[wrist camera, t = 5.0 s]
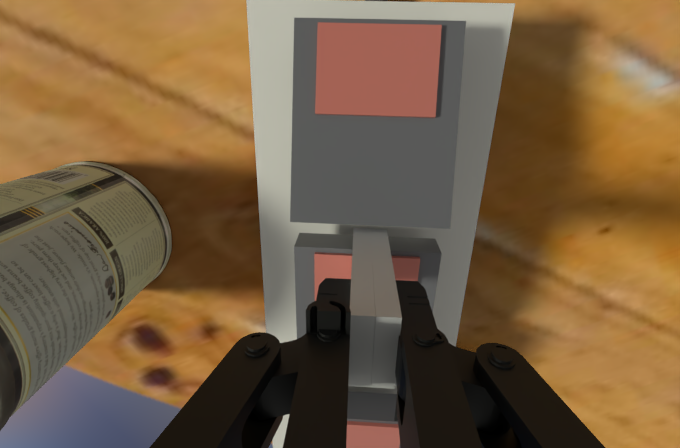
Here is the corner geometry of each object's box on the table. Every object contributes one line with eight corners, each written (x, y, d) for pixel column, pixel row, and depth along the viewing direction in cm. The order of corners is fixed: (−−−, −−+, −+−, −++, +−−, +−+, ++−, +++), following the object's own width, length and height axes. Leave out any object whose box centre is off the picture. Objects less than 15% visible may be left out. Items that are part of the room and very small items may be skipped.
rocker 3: (299, 388, 22) (294, 418, 20) (418, 395, 21) (422, 427, 20) (305, 452, 26) (302, 481, 25) (402, 459, 26) (404, 488, 25)
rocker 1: (300, 33, 17) (293, 15, 15) (455, 36, 16) (467, 18, 14) (296, 218, 18) (289, 222, 16) (441, 224, 17) (451, 229, 16)
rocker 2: (299, 232, 19) (293, 248, 17) (435, 238, 19) (442, 255, 17) (302, 358, 22) (297, 382, 21) (417, 365, 22) (421, 389, 20)
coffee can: (96, 307, 29) (-117, 488, 16) (6, 196, 26) (-349, 310, 13) (201, 261, 27) (53, 426, 14) (116, 135, 24) (-174, 196, 11)
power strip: (267, -90, 19) (226, -166, 13) (500, -88, 19) (563, -167, 13) (286, 404, 32) (269, 477, 26) (425, 413, 32) (440, 489, 26)
